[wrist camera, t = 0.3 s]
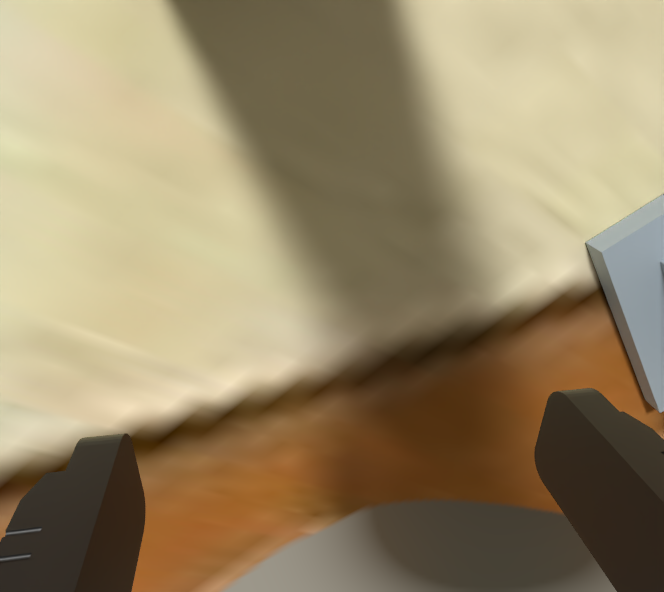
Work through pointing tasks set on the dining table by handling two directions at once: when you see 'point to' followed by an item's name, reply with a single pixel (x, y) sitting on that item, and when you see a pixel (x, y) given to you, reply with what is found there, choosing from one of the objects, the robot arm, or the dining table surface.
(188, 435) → the dining table surface
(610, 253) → the stand
